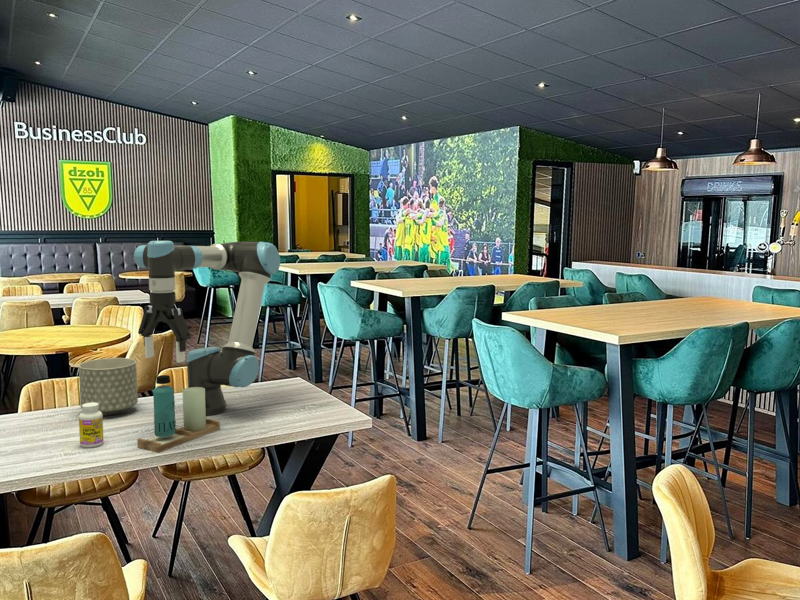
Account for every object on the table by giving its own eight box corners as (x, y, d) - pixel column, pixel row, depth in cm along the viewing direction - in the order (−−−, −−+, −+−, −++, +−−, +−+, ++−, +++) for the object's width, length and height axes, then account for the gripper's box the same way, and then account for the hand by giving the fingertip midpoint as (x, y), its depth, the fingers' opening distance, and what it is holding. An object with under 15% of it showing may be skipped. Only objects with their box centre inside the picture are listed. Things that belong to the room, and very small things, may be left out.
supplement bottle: (79, 449, 198) (77, 408, 197) (80, 442, 204) (78, 402, 203) (103, 446, 201) (101, 406, 200) (103, 440, 207) (102, 400, 206)
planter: (139, 403, 249) (137, 356, 247) (136, 417, 231) (134, 367, 229) (84, 407, 243) (82, 359, 241) (77, 422, 225) (74, 370, 223)
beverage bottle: (155, 443, 199) (153, 379, 197) (152, 436, 205) (150, 374, 203) (177, 440, 202) (175, 377, 200) (174, 433, 208) (172, 372, 206)
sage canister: (179, 429, 213) (177, 390, 212) (195, 423, 220) (193, 386, 218) (194, 432, 210) (193, 393, 209) (210, 426, 216) (209, 388, 215)
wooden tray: (137, 447, 200) (137, 439, 200) (200, 425, 223) (199, 417, 223) (158, 452, 196) (157, 444, 196) (219, 429, 219) (219, 421, 219)
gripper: (124, 290, 202) (127, 357, 204) (182, 295, 190) (184, 366, 193) (144, 288, 208) (146, 353, 211) (201, 292, 197) (203, 361, 199)
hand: (165, 359), depth 202 cm, fingers open, 13 cm apart
